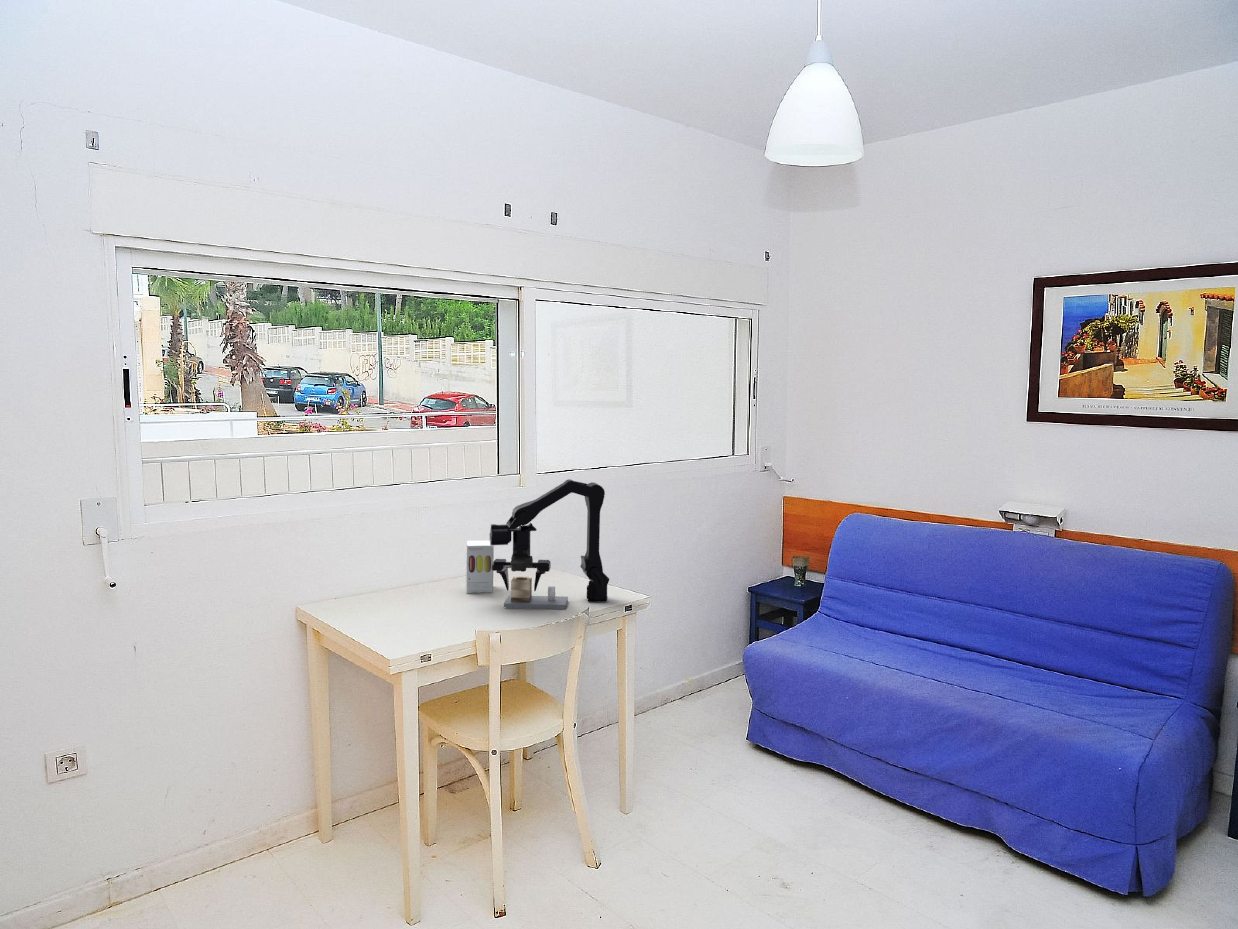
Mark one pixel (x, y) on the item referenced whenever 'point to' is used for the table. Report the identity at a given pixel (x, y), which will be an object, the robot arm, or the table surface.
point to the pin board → (540, 601)
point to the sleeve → (521, 589)
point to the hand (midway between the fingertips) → (521, 590)
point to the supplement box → (479, 566)
